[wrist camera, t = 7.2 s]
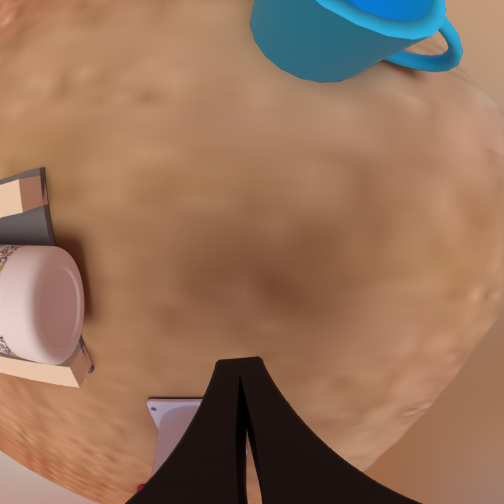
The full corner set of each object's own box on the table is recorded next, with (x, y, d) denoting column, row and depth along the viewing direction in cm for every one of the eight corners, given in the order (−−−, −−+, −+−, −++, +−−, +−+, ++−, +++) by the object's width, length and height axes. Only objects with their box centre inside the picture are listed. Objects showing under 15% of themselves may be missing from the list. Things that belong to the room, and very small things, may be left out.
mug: (234, 59, 14) (242, -13, 6) (268, -29, 12) (291, -104, 4) (406, 125, 16) (495, 119, 8) (420, 36, 14) (492, 6, 6)
